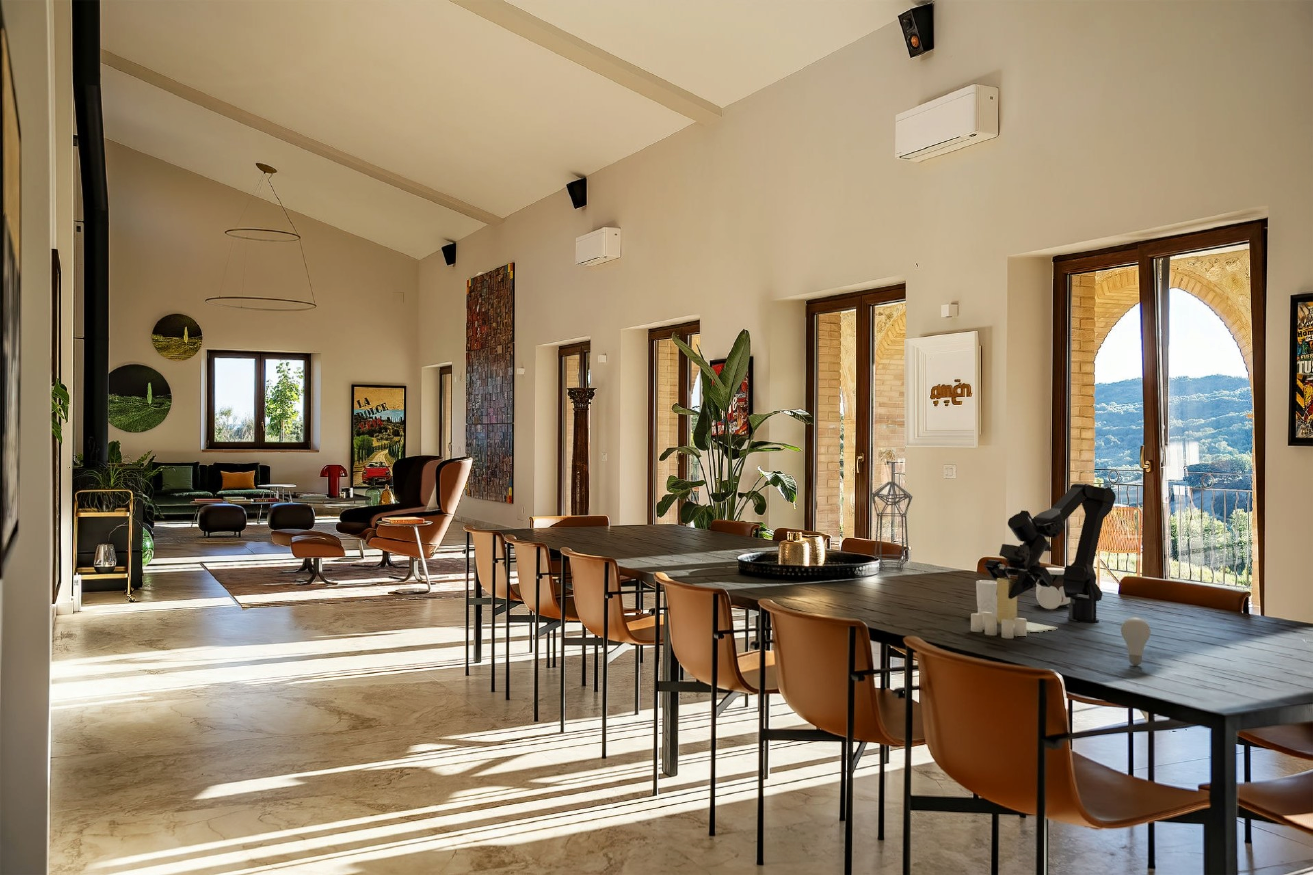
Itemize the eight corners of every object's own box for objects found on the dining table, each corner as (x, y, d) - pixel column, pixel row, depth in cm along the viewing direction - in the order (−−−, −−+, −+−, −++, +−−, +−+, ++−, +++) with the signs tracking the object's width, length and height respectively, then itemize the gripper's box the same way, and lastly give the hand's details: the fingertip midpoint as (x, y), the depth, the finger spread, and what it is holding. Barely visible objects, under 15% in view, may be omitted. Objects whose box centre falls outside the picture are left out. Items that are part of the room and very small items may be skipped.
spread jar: (1064, 604, 317) (1064, 567, 317) (1080, 610, 306) (1081, 572, 306) (1026, 604, 316) (1027, 567, 317) (1041, 610, 305) (1041, 571, 305)
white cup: (1006, 619, 290) (1006, 584, 290) (977, 617, 291) (977, 583, 291) (1002, 614, 298) (1002, 580, 298) (974, 613, 299) (974, 579, 299)
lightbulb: (1115, 662, 233) (1115, 615, 233) (1140, 662, 233) (1140, 615, 233) (1130, 668, 227) (1130, 620, 227) (1155, 668, 227) (1156, 619, 227)
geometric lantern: (910, 567, 407) (910, 480, 407) (912, 572, 391) (912, 482, 391) (870, 566, 410) (870, 480, 410) (871, 571, 394) (871, 481, 394)
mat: (1026, 623, 282) (1026, 621, 282) (1057, 629, 274) (1057, 627, 274) (1003, 627, 277) (1003, 624, 277) (1033, 633, 269) (1033, 630, 269)
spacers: (985, 627, 276) (985, 611, 276) (1028, 636, 264) (1028, 619, 264) (965, 630, 272) (965, 613, 272) (1008, 639, 260) (1008, 621, 260)
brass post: (1005, 621, 273) (1005, 577, 273) (1017, 623, 270) (1016, 578, 270) (997, 622, 271) (997, 578, 271) (1008, 625, 268) (1008, 579, 268)
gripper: (988, 530, 280) (961, 573, 274) (1046, 536, 264) (1018, 581, 259) (1007, 556, 284) (980, 599, 279) (1065, 563, 269) (1038, 609, 263)
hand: (1003, 596), depth 270 cm, fingers closed on brass post, 4 cm apart
